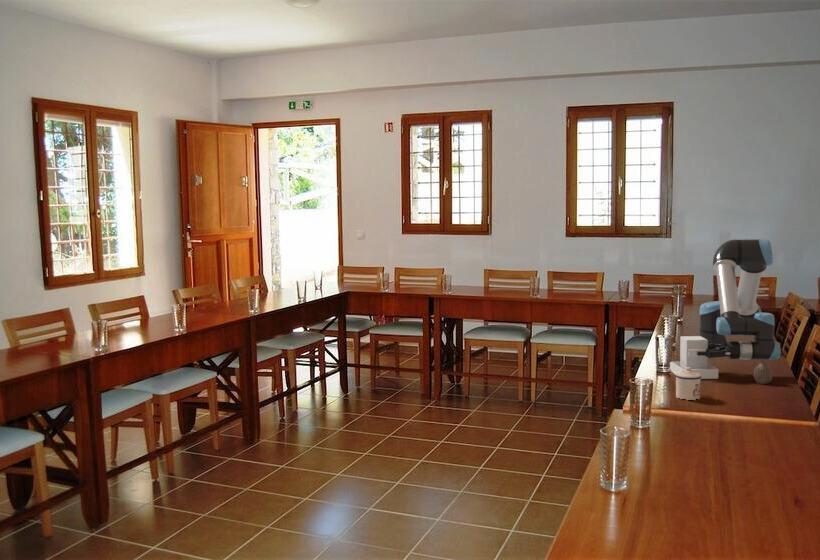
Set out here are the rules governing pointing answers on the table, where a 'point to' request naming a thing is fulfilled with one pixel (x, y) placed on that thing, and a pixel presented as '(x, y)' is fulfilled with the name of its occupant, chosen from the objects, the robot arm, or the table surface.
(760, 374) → the vase
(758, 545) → the table surface
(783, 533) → the table surface
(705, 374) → the white bin
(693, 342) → the supplement box
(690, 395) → the teacup with lid
